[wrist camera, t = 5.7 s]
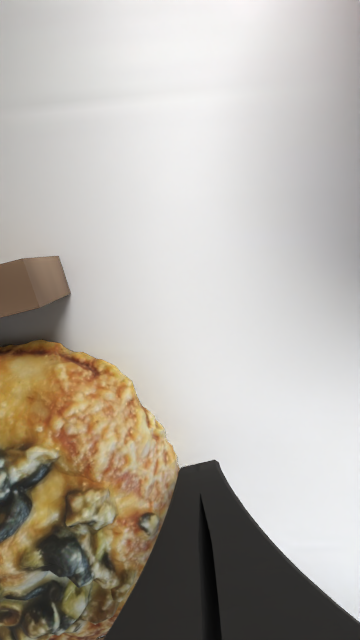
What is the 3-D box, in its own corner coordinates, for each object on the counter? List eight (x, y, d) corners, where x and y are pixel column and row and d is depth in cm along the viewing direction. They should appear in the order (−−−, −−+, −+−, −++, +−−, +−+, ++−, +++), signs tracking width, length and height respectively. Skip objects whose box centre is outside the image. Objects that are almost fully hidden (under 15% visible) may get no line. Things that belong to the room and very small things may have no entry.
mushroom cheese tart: (-178, 525, 12) (-406, 706, 7) (-9, 269, 11) (-116, 263, 6) (90, 636, 14) (66, 835, 9) (237, 423, 13) (297, 506, 9)
